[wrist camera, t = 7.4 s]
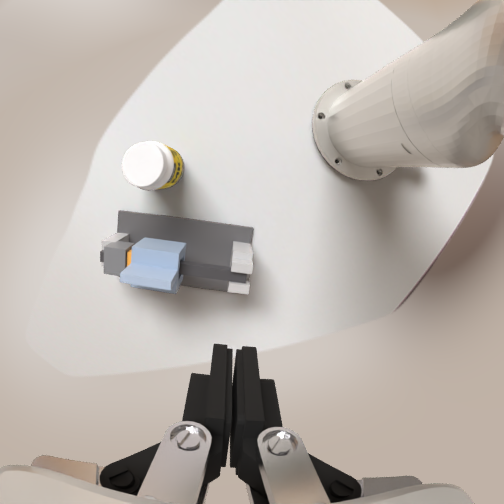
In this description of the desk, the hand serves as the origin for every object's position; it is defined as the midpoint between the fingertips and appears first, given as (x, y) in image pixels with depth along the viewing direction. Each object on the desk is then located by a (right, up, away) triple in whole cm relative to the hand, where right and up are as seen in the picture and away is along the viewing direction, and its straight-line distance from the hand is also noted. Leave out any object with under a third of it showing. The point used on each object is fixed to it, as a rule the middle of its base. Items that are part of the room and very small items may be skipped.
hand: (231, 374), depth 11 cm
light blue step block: (-9, +4, +19) cm, 21 cm away
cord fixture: (-8, +5, +22) cm, 24 cm away
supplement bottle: (-9, +15, +20) cm, 26 cm away
